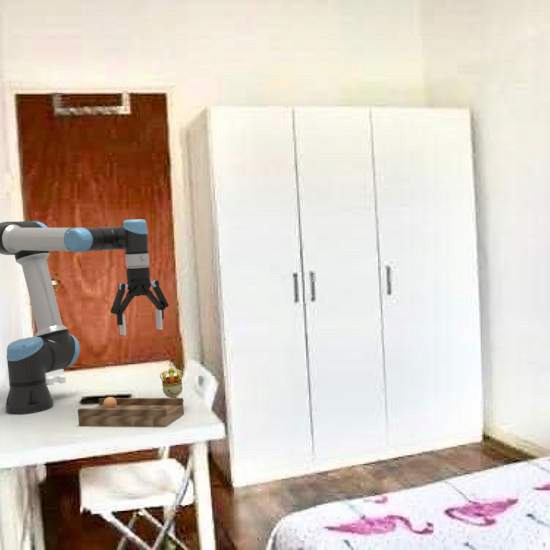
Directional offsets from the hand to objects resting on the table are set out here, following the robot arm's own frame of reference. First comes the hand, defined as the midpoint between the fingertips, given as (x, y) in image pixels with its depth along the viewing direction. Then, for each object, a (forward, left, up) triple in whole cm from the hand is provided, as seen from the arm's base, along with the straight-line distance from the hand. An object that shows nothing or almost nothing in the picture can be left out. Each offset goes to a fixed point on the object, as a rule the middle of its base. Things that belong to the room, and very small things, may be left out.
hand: (141, 332), depth 225 cm
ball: (-4, -17, -19) cm, 26 cm away
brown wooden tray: (+3, -17, -24) cm, 30 cm away
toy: (+12, -5, -25) cm, 28 cm away
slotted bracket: (-58, +39, -25) cm, 75 cm away
